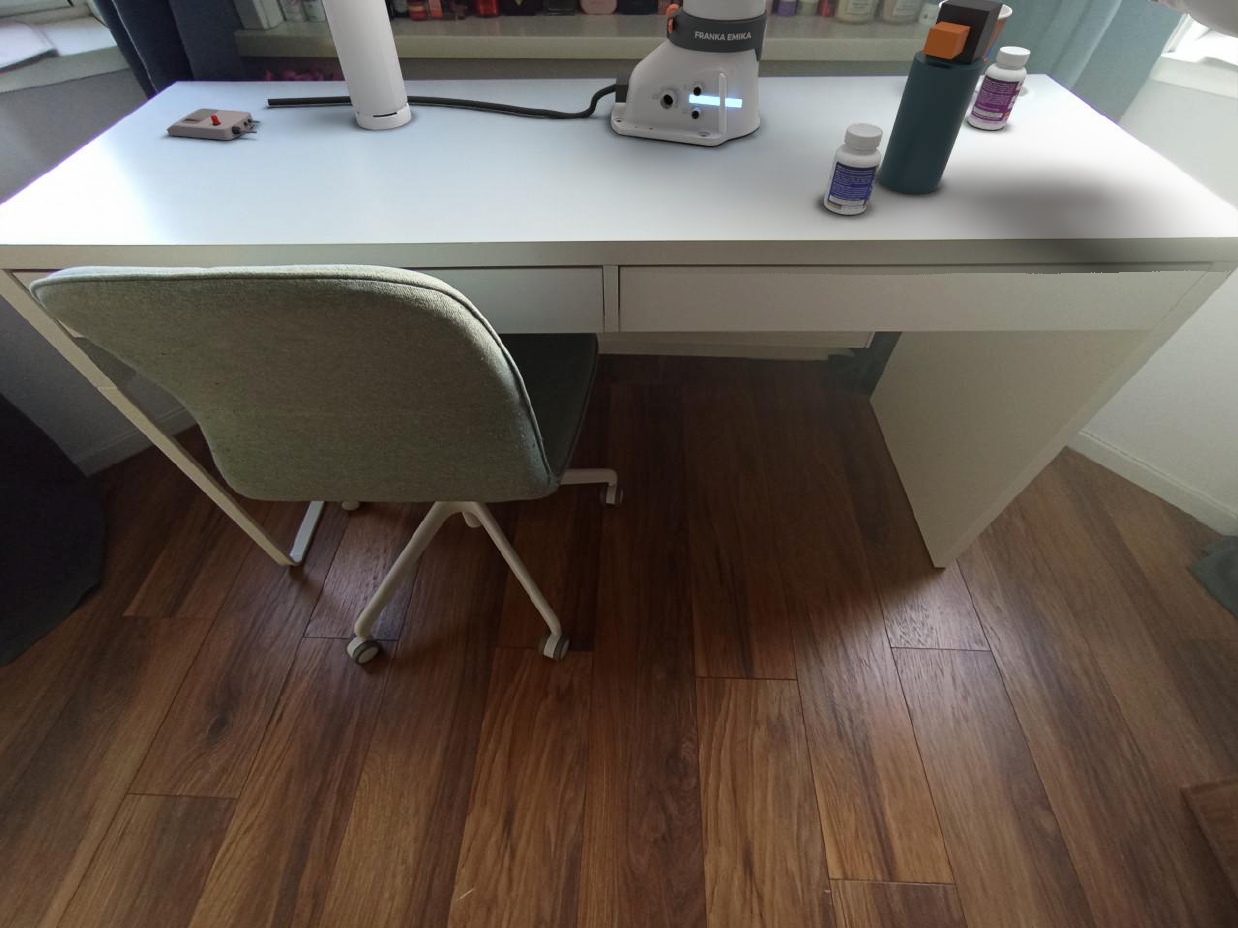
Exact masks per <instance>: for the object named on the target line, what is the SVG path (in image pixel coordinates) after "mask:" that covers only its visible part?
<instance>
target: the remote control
mask: <svg viewBox="0 0 1238 928" xmlns="http://www.w3.org/2000/svg"><path fill="white" fill-rule="evenodd" d="M255 123H256V124H260V123H261V122H260V120H255V119H253V115H252V114H251V112H250V111H243V110H242V111H241V110H240V111H239V110H230V109H229V110H228V109H218V108H216V109H215V108H204V107H202V108H198V109H195V110H194V111H193V112H190V113H188V114H187V115H185V116H183V117H182V118H180V119H178V120H176V121H175V122H174V123H172V124H171V125H170V126H168V127H167V128H166V131H167V133H168V135H169V136H174V137H176V136H177V137H187V138H188V137H189V138H198V139H211V140H221V141H231V140H234V139H236V138H238V137H240V136H241V135H243V134H258V131H257V130H250V129H251V128H253V127H254V126H255Z"/></svg>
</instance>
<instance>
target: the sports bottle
mask: <svg viewBox="0 0 1238 928" xmlns="http://www.w3.org/2000/svg"><path fill="white" fill-rule="evenodd" d="M944 1H945V0H944ZM1003 4H1004V3H1003V2H998V1H992V0H947V1H945V2H943V3H942V5H941V8H940V9H939V11H938V14H939V15H937V18H936V21H935V25H936V24H938V23H940V22H947V23H952V24H958V25H963V26H969V27H970V30H969V33H968V36H967V38H966V41H965V44H964V47H963V50H962V52H961V53H960V54H958V55H956V56H955V57H953V58H952V59H947V58H942V57H937V56H932V55H927V54H923V53H922V52H923V49H922V50H919V51H917V52H915V54H914V56H913V59H912V62H911V65H910V69H909V72H908V76H907V80H906V81H905V86H904V89H903V93H902V96H901V99H900V103H899V105H898V109H897V112H896V115H895V119H894V122H893V126H892V129H891V131H890V132H891V133H890V136H889V139H888V142H887V145H886V149H885V153H884V155H883V158H882V162H881V165H880V167H879V168H880V169H879V171H878V175H877V179H878V181H879V183H880V184H881V185H882V186H884V187H885V188H887V189H889V190H892V191H895V192H899V193H903V194H910V195H911V194H912V195H924V194H928V193H932V192H934V191H936V190H937V189H938V188H939V186H940V183H941V180H942V177H943V176H944V174H945V173H944V172H945V170H946V167H947V164H948V162H949V160H950V157H951V154H952V151H953V149H954V146H955V143H956V141H957V138H958V135H959V133H960V130H961V127H962V125H963V122H964V120H965V117H966V115H967V111H968V109H969V106H970V104H971V102H972V98H973V96H974V94H975V90H976V88H977V85H978V83H979V80H980V78H981V74H982V72H983V70H984V68H985V66H984V64H985V61H984V60H983V59H982V58H981V57H982V56H983V55H984V54H985V51H986V49H987V46H988V43H989V41H990V38H991V35H992V32H993V30H994V27H995V24H996V22H997V19H998V16H999V14H1000V11H1001V8H1002V6H1003ZM935 25H934V26H935ZM985 65H986V64H985ZM983 67H984V68H983ZM982 69H983V70H982Z"/></svg>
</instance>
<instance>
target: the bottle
mask: <svg viewBox="0 0 1238 928" xmlns="http://www.w3.org/2000/svg"><path fill="white" fill-rule="evenodd" d="M321 3H322V6H323V9H324V13H325V16H326V20H327V22H328V27H329V30H330V33H331V37H332V40H333V43H334V47H335V50H336V53H337V57H338V60H339V61H338V62H339V64H340V67H341V71H342V74H343V78H344V81H345V84H346V89H347V91H348V94H349V95H348V96H350V98H351V102H352V103H351V105H352V107H353V112H354V115H355V119H356V122H357V124H358V126H360V127H361V128H364V129H366V130H374V131H376V130H378V131H380V130H391V129H396V128H398V127H402V126H404V125H406V124H408V123H409V122H410V121H411V120H412V113H411V108H410V105H409V103H407V96H408V94H407V91H406V88H405V87H406V86H405V81H404V78H403V73H402V69H401V66H400V60H399V57H398V52H397V47H396V44H395V39H394V34H393V31H392V25H391V22H390V17H389V13H388V8H387V5H386V0H321ZM395 113H396V114H395ZM390 114H392V115H390ZM383 115H387V116H383ZM374 116H375V117H374Z"/></svg>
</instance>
